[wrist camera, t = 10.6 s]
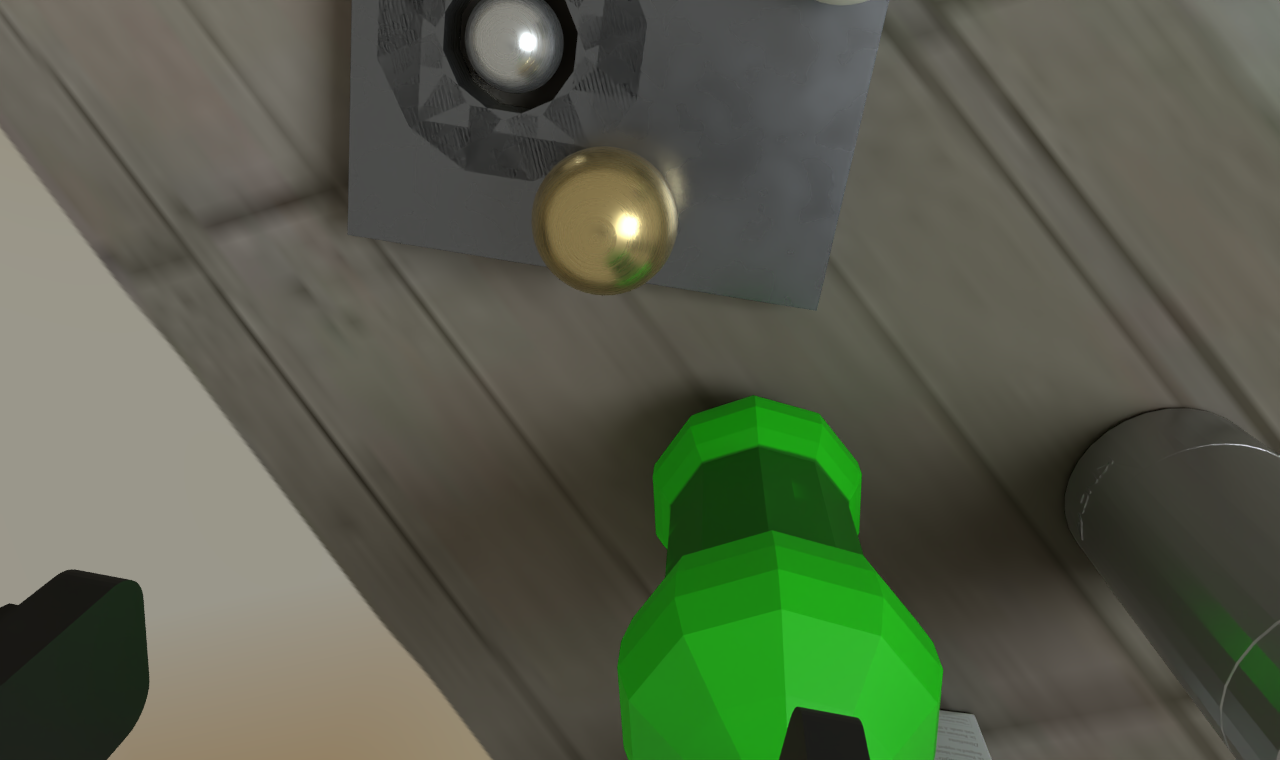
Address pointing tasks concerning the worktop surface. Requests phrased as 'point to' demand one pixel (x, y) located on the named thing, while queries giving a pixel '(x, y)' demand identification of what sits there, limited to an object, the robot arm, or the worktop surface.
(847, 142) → the plate
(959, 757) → the supplement box
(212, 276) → the worktop surface
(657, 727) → the plastic bottle
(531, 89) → the steel ball
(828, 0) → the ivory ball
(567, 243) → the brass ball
